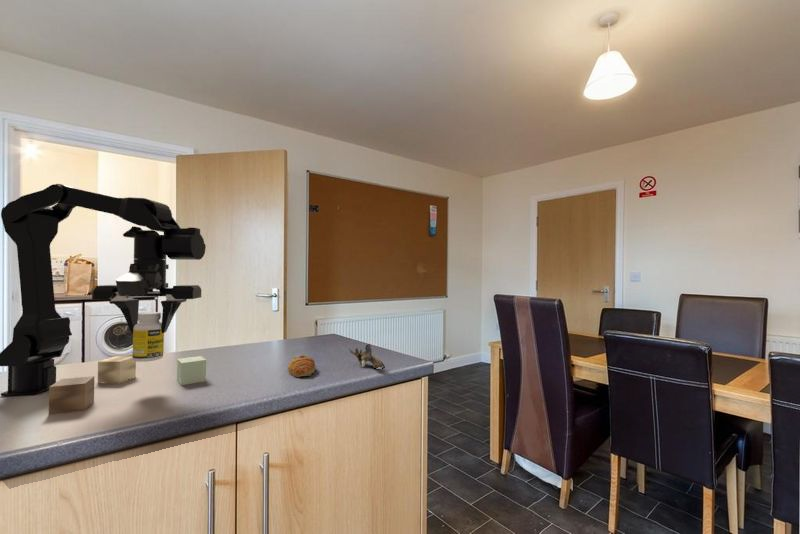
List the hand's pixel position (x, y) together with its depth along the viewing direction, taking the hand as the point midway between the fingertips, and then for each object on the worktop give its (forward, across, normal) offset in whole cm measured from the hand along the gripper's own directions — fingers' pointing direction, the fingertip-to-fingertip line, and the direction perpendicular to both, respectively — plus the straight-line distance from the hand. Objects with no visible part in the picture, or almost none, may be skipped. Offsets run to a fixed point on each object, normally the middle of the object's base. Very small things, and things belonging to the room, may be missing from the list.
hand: (148, 333), depth 77 cm
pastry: (+13, +31, +10) cm, 35 cm away
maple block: (+12, -11, +10) cm, 19 cm away
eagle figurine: (+13, +48, +14) cm, 51 cm away
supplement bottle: (+6, 0, 0) cm, 6 cm away
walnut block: (+12, -9, -8) cm, 17 cm away
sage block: (+12, +6, +7) cm, 15 cm away
